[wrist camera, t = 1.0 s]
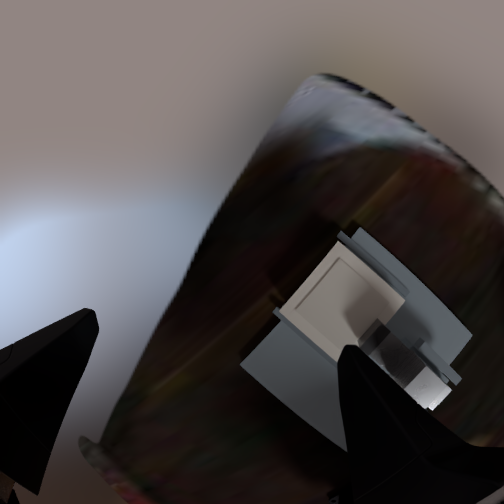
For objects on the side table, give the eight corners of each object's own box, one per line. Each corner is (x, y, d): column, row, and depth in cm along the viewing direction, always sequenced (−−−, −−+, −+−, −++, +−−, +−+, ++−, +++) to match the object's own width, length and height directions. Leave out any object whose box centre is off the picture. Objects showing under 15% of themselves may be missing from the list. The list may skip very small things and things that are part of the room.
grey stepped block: (444, 380, 14) (469, 408, 9) (425, 401, 14) (444, 434, 10) (377, 317, 16) (392, 334, 11) (356, 340, 16) (363, 365, 12)
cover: (398, 297, 18) (406, 300, 16) (343, 358, 19) (344, 369, 16) (337, 243, 19) (338, 240, 17) (284, 306, 20) (278, 311, 18)
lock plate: (468, 333, 16) (493, 345, 12) (351, 450, 18) (351, 480, 14) (349, 220, 20) (353, 208, 16) (235, 354, 22) (212, 371, 18)
